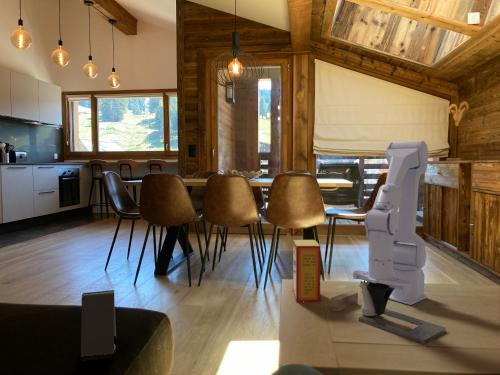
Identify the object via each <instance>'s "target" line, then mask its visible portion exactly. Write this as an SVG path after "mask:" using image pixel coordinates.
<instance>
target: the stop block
mask: <svg viewBox="0 0 500 375" xmlns="http://www.w3.org/2000/svg"><path fill="white" fill-rule="evenodd" d="M358 296H359V293H358V292H356V291H352V290H351V291H347V292H345V293H342V294H338V295H336V296H333V297H330V310H332V311H334V312H339V311H342V310H346V309H348V308H350V307H353V306H355V305H358V303H359V297H358Z"/></svg>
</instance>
